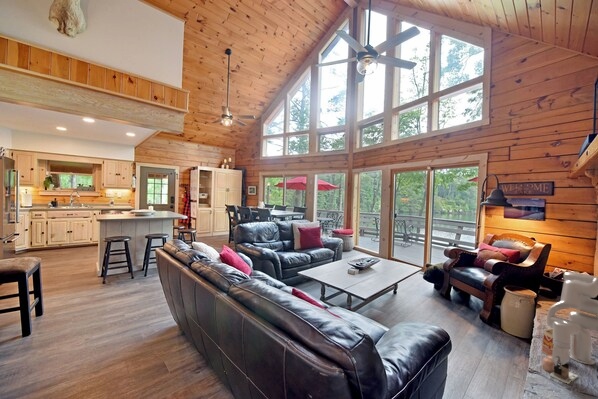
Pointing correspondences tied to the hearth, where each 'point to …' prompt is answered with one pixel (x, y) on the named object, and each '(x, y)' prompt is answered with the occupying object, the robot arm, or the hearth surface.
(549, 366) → the egg
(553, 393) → the hearth surface
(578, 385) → the hearth surface
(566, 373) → the brown cube
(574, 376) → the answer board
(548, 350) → the milk carton
